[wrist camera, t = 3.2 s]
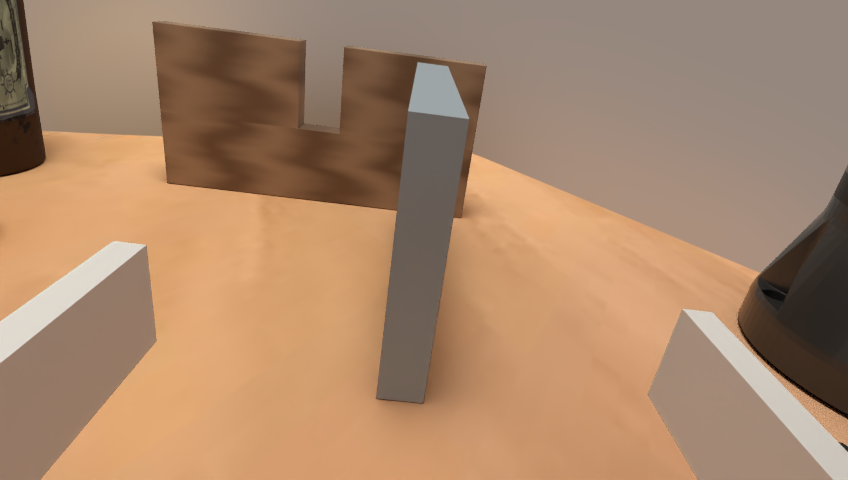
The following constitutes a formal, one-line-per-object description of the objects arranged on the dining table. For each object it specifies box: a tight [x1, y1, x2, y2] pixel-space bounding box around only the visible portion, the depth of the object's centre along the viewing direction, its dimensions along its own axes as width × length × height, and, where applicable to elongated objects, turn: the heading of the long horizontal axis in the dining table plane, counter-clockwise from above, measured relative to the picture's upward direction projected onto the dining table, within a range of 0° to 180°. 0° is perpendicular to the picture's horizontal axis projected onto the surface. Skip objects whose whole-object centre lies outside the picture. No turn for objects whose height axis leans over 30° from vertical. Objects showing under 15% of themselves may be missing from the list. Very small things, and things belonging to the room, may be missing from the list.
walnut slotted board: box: [152, 21, 487, 218], centre depth 39 cm, size 24×2×12 cm, turn 90°
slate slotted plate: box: [376, 62, 469, 403], centre depth 27 cm, size 18×2×12 cm, turn 0°
